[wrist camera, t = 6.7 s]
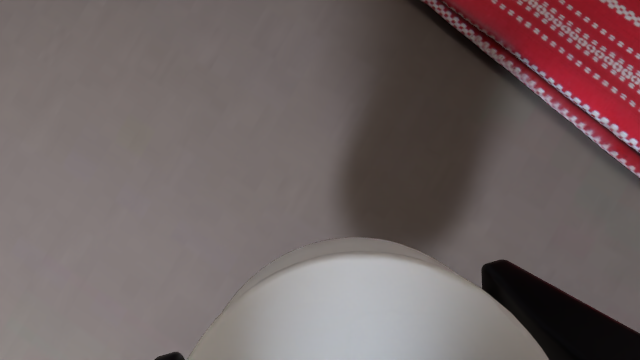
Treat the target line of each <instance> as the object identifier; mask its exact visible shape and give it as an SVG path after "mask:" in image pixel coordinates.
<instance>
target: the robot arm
mask: <svg viewBox="0 0 640 360" xmlns="http://www.w3.org/2000/svg"><path fill="white" fill-rule="evenodd" d="M482 289H483V290H484V291H485V292H487V293H488V294H489V295H490V296H492V297H493V298H494V299H495V300H496V301H498V302H499V303H500V304H501V305H502V306H504V307H505V308H506V309H507V310H508V311H510V312H511V313H512V314H513V315H514V316H515V318H516V319H517V320H518V321H519V322H520V323H521V324H522V325H523V326H524V327H525V328H526V329H527V331H528V332H529V333H530V334H531V335H532V337H533V338H534V339H535V340H536V342H537V343H538V344H539V345H540V347H541V348H542V349H543V351H544V353H545V354H546V356H547V357H548V359H549V360H640V334H639V333H638V332H636V331H634V330H632V329H630V328H629V327H627V326H625V325H623V324H621V323H619V322H618V321H616V320H614V319H612V318H610V317H609V316H607V315H605V314H603V313H601V312H600V311H598V310H596V309H594V308H592V307H591V306H589V305H587V304H585V303H583V302H581V301H580V300H578V299H576V298H574V297H572V296H571V295H569V294H567V293H565V292H563V291H562V290H560V289H558V288H556V287H554V286H552V285H551V284H549V283H547V282H545V281H543V280H542V279H540V278H538V277H536V276H534V275H533V274H531V273H529V272H527V271H525V270H524V269H522V268H520V267H518V266H516V265H514V264H513V263H511V262H509V261H507V260H498V261H494V262H491V263H487V264H485V265H483V267H482ZM155 360H185V359H184V357H183V356H182V355H181V354H180V353H179V352H173V353H169V354H166V355H162V356H159V357H157V358H156V359H155Z"/></svg>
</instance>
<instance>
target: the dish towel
mask: <svg viewBox="0 0 640 360" xmlns="http://www.w3.org/2000/svg"><path fill="white" fill-rule="evenodd" d="M420 1H422V2H423V3H426V4H427V5H428V6H430V7H431V8H432V9H433V10H434V11H435V12H436V13H438V14H439V15H440V16H441V17H443V18H444V19H445V20H446V21H447V22H448V23H449V24H450V25H452V26H453V27H454V28H455V29H457V30H458V31H459V32H461V33H462V34H463V35H464V36H466V37H467V38H468V39H469V40H471V41H472V42H473V43H474V44H476V45H477V46H478V47H479V48H480V49H481V50H482V51H484V52H485V53H486V54H488V55H489V56H490V57H491V58H493V59H494V60H495V61H496V62H498V63H499V64H501V65H502V66H503V67H504V68H506V69H507V70H508V71H509V72H511V73H512V74H513V75H514V76H515V77H517V78H518V79H519V80H520V81H521V82H523V83H524V84H525V85H526V86H527V87H528V88H530V89H531V90H532V91H533V92H535V93H536V94H537V95H539V96H540V97H541V98H542V99H543V100H544V101H545V102H546V103H548V104H549V105H550V106H551V107H552V108H553V109H555V110H556V111H557V112H559V113H560V114H561V115H563V116H564V117H565V118H566V119H567V120H569V121H570V122H572V123H573V124H574V125H575V126H576V127H577V128H578V129H580V130H581V131H582V132H583V133H584V134H585V135H587V136H589V137H590V138H591V140H592V141H594V142H595V143H597V144H598V145H599V146H600V147H601V148H602V149H604V150H605V151H607V152H608V153H609V154H610V155H611V156H613V157H614V158H615V159H616V160H618V161H619V162H620V163H622V164H623V165H624V166H625V167H627V168H628V169H629V170H630V171H632V172H633V173H634V174H635V175H637V176H638V177H639V178H640V0H420Z"/></svg>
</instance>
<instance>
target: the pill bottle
mask: <svg viewBox="0 0 640 360" xmlns="http://www.w3.org/2000/svg"><path fill="white" fill-rule="evenodd" d="M188 360H549V359H548V357H547V356H546V354H545V353H544V351H543V349H542V348H541V347H540V345H539V344H538V343H537V342H536V340H535V339H534V338H533V337H532V335H531V334H530V333H529V332H528V331H527V329H526V328H525V327H524V326H523V325H522V324H521V323H520V322H519V321H518V320H517V319H516V318H515V316H514V315H513V314H512V313H511V312H510V311H508V310H507V309H506V308H505V307H504V306H502V305H501V304H500V303H499V302H498V301H496V300H495V299H494V298H493V297H492V296H490V295H489V294H488V293H487V292H485V291H484V290H483V289H481V288H480V287H478V286H477V285H475V284H473V283H472V282H470V281H468V280H466V279H465V278H463V277H461V276H460V275H458V274H456V273H455V272H454V271H453V270H451V269H450V268H448V267H447V266H445V265H444V264H442V263H441V262H439V261H437V260H436V259H434V258H432V257H430V256H428V255H426V254H424V253H422V252H420V251H418V250H416V249H413V248H410V247H408V246H405V245H402V244H399V243H396V242H392V241H388V240H382V239H375V238H364V237H345V238H336V239H328V240H324V241H320V242H315V243H312V244H309V245H306V246H303V247H300V248H298V249H295V250H293V251H291V252H289V253H287V254H285V255H283V256H281V257H279V258H278V259H276V260H274V261H273V262H271V263H270V264H268V265H267V266H265V267H264V268H263V269H261V270H260V271H259V272H258V273H256V274H255V275H254V276H253V277H252V278H250V279H249V280H248V281H247V282H246V283H245V284H244V286H243V287H242V288H241V289H240V290H239V291H238V292H237V293H236V294H235V295H234V296H233V298H232V299H231V300H230V302H229V303H228V305H227V306H226V307H225V309H224V310H223V311H222V313H221V314H220V315H219V316H218V317H217V318H216V319H215V321H214V322H213V323H212V324H211V326H210V327H209V328H208V329H207V331H206V332H205V333H204V334H203V336H202V337H201V339H200V340H199V342H198V343H197V345H196V347H195V348H194V350H193V351H192V353H191V354H190V356H189V358H188Z"/></svg>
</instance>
